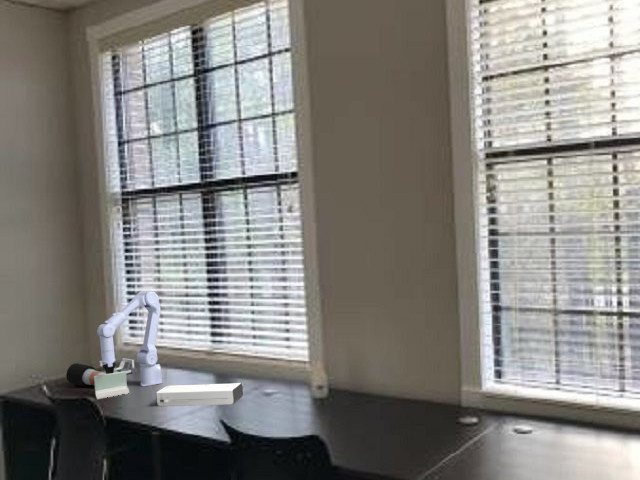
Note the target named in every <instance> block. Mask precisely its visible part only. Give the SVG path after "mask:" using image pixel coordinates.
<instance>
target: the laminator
mask: <svg viewBox="0 0 640 480" xmlns="http://www.w3.org/2000/svg"><path fill="white" fill-rule="evenodd" d="M243 391H244V390H243V383H241V382H239V383H238V382H237V383H234V382H233V383H211V384H210V383H207V384H185V385H184V384H181V385H179V384H178V385H165V386H164V387H163V388H160V389H159V390H158V391H156V392H155V398H156V405H157V407H176V406H179V407H180V406H182V407H183V406H212V405H213V406H216V405H217V406H219V405H222V406H223V405H234V404H235V403H236V402H238V400H239V399H240V398H242V397H243V396H244V395H243V394H244V392H243Z"/></svg>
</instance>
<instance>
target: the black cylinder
mask: <svg viewBox="0 0 640 480" xmlns="http://www.w3.org/2000/svg"><path fill="white" fill-rule="evenodd" d="M104 372H105V371H104ZM104 372H101V371H99V370H96V368H95V367H94V366H92V365H87V364H82V363H79V362H78V363H76V362H75V363H72V364H71V365H70V366H69V367H68V368H67V370H66V380H67V382H68V383H70V384H73V385H77V386H82V387H85V388H87V387H91V386H94V387H95V382H94V376H98V375H104V374H106V373H104Z"/></svg>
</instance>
